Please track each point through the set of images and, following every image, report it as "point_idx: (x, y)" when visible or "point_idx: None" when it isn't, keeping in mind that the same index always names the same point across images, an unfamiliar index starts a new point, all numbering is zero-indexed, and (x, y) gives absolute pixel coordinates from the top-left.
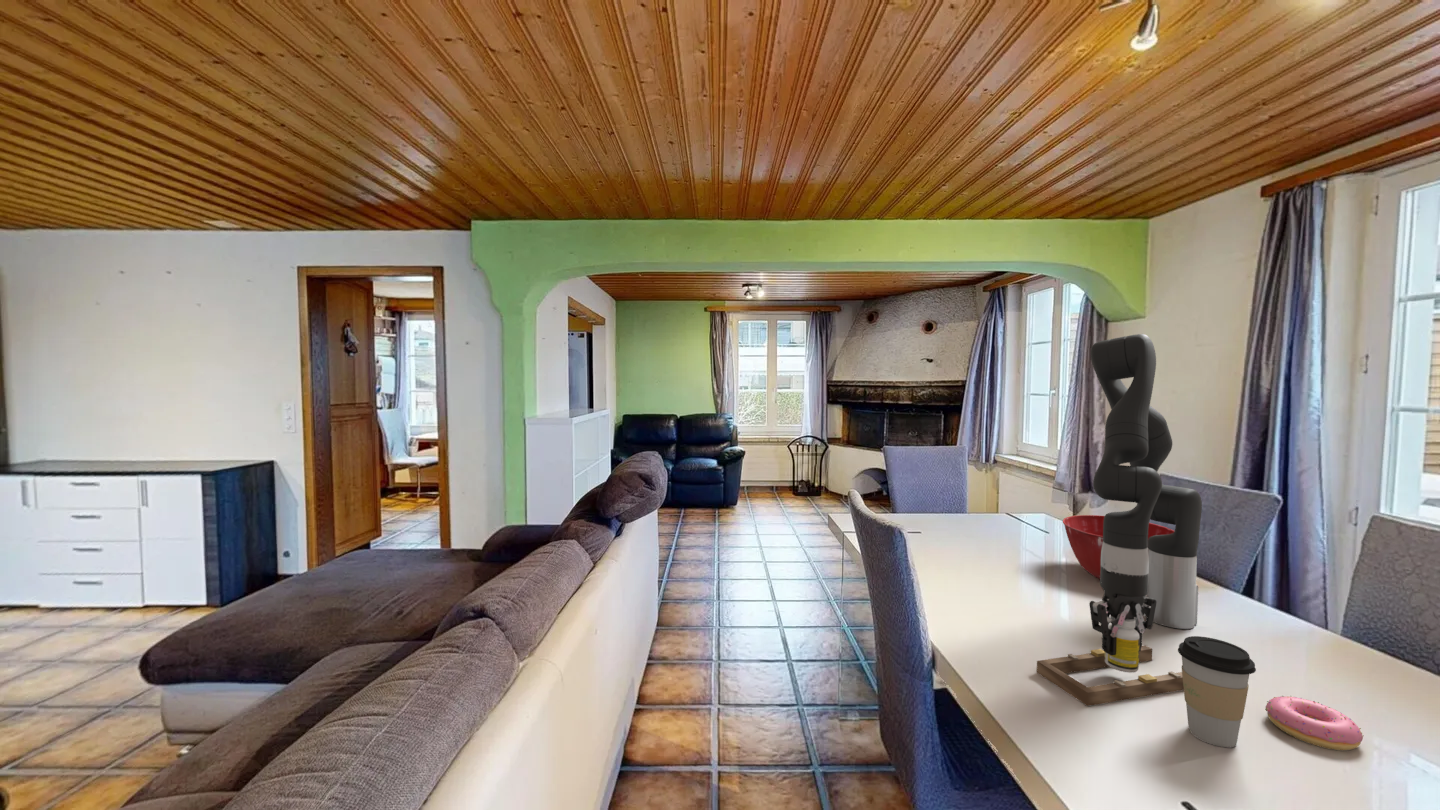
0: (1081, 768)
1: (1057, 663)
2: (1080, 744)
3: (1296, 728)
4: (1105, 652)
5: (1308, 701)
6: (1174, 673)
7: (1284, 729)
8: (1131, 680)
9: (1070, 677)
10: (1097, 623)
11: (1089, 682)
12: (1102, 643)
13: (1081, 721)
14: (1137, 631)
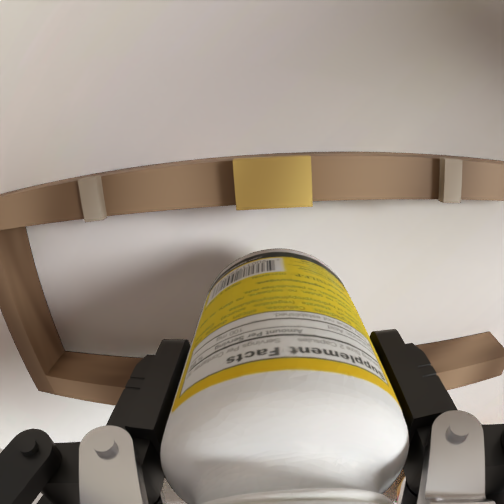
0: (6, 435)
1: (21, 226)
2: (13, 417)
3: (397, 501)
4: (203, 311)
5: None
6: None
7: (401, 482)
8: None
9: (20, 325)
10: (27, 486)
11: (126, 279)
12: (129, 382)
13: (28, 390)
14: (406, 471)
